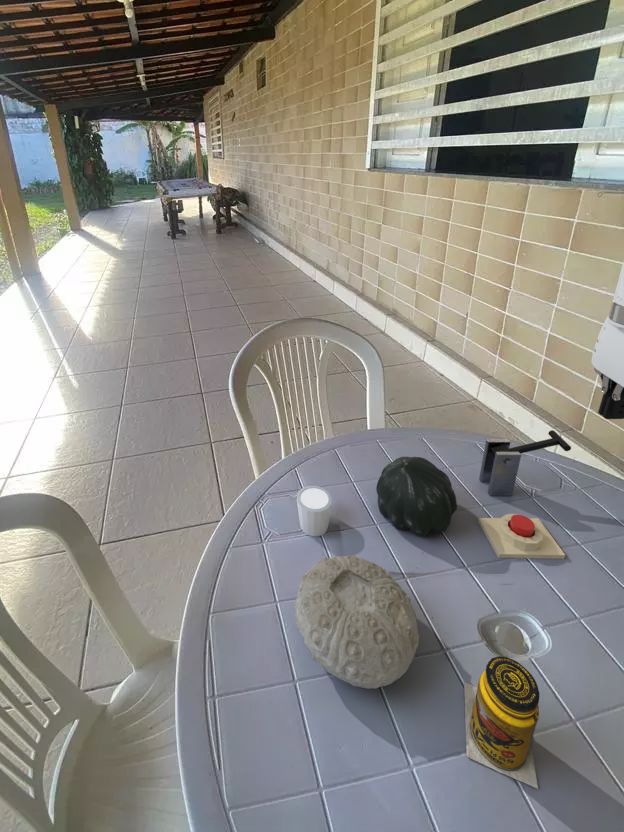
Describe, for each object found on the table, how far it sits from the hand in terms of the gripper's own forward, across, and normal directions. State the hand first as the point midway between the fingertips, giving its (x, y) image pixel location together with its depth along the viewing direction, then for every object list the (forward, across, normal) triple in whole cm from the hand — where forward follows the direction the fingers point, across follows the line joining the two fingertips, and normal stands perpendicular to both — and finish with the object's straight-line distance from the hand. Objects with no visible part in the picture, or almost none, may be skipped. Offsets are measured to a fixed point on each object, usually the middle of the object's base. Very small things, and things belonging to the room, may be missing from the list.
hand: (611, 416), depth 72 cm
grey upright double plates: (+25, +9, +11) cm, 29 cm away
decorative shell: (+25, -21, +46) cm, 57 cm away
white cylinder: (+25, 0, +50) cm, 56 cm away
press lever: (+15, +9, +6) cm, 18 cm away
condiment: (+25, -32, +30) cm, 51 cm away
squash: (+25, +2, +30) cm, 39 cm away
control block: (+25, -4, +13) cm, 29 cm away
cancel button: (+21, -4, +13) cm, 25 cm away
